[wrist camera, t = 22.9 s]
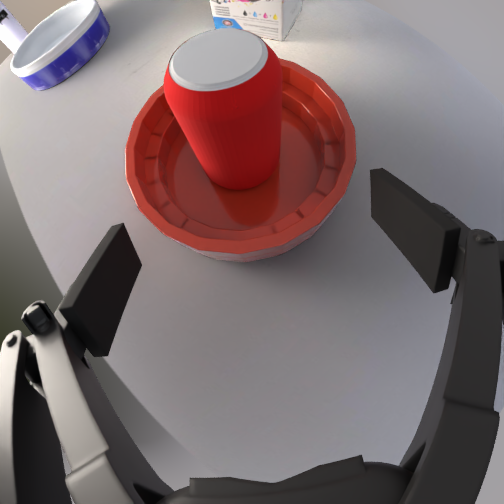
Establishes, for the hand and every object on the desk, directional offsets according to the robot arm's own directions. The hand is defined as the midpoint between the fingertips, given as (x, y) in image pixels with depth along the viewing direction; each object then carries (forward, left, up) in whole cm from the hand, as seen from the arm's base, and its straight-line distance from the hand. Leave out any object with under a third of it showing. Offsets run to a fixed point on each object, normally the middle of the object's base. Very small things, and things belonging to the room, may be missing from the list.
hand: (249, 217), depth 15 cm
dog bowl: (+38, -16, -8) cm, 42 cm away
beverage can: (+4, -6, -8) cm, 10 cm away
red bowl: (+4, -6, -8) cm, 11 cm away
